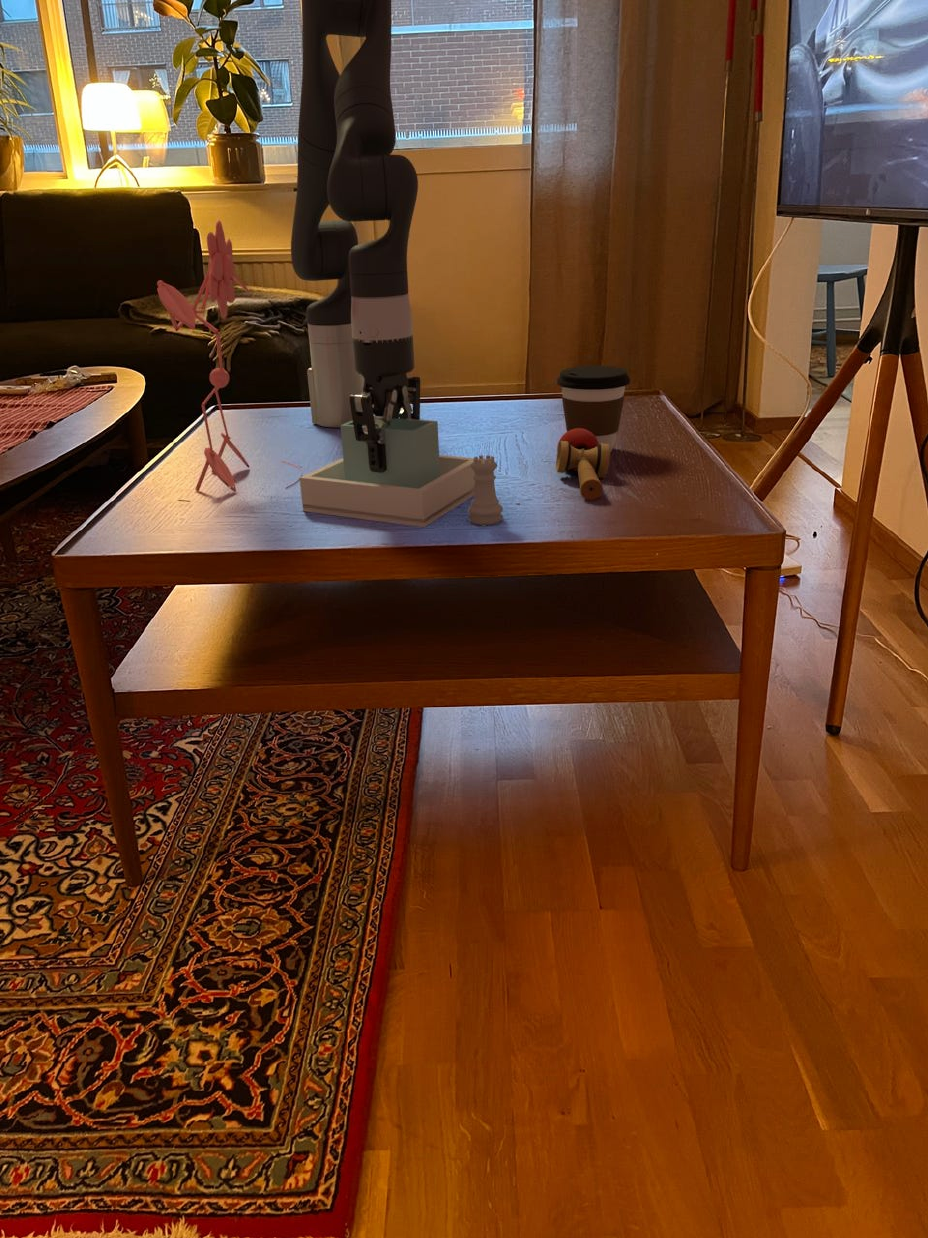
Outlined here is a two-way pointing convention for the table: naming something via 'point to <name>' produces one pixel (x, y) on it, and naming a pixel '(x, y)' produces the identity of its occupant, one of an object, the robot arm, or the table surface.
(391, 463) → the teal tote
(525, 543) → the table surface
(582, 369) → the coffee cup
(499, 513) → the rook chess piece
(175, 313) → the pink thin branched figure
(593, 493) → the kendama
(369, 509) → the beige tray
